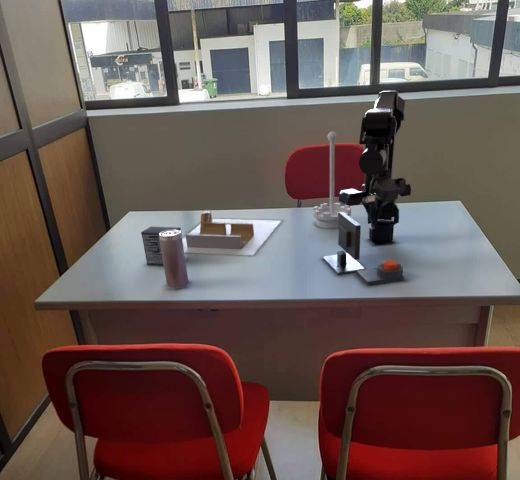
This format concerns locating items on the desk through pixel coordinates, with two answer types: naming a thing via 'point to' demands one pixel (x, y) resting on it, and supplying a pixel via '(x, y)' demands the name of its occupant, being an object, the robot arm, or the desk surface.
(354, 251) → the screen
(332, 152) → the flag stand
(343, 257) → the monitor stand
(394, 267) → the power button
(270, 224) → the walled white board
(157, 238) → the small box
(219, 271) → the desk surface
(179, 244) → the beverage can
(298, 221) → the desk surface
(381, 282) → the console
